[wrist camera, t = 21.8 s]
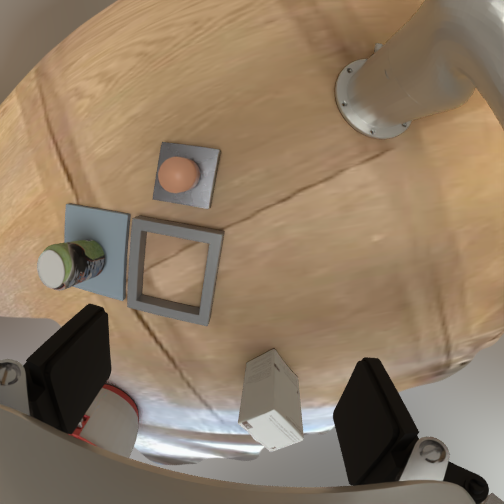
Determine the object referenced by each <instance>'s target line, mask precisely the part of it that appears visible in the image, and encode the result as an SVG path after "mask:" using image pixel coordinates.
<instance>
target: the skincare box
mask: <svg viewBox="0 0 504 504" xmlns="http://www.w3.org/2000/svg"><path fill="white" fill-rule="evenodd" d="M238 424H239V425H240V426H242V427H243V428H244V429H245V430H246V431H247V432H248V433H250V434H251V436H252V438H253V439H254V440H256V441H257V442H259V443H261V444H262V445H263V446H265V447H266V448H267V449H268V450H269V451H270V452H272V451H275V450H277V449H281V448H283V447H286V446H288V445H291V444H294V443H297V442H299V441H302V440H304V437H303V426H302V414H301V403H300V393H299V383H298V377H297V376H296V375H295V374H294V373H293V372H292V371H291V370H290V368H289V367H288V366H287V365H286V364H285V362H284V361H283V360H282V358H281V357H280V356H279V354H278V353H277V351H276V350H275V349H272V350H270V351H268V352H266V353H265V354H263V355H261V356H259V357H257V358H255V359H253V360H251V361H249V362H247V363H246V370H245V377H244V384H243V391H242V398H241V406H240V412H239V419H238Z"/></svg>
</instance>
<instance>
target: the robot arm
mask: <svg viewBox="0 0 504 504" xmlns="http://www.w3.org/2000/svg"><path fill="white" fill-rule="evenodd" d="M374 52H375V53H374V54H373V55H371V56H370V57H369V58H368V59H360V60H357V61H354V62H352V63H350V64H349V65H347V66H346V67H345V68H344V69H343V70H342V71H341V73H340V74H339V76H338V78H337V81H336V86H335V98H336V102H337V105H338V108H339V110H340V112H341V114H342V115H343V117H344V118H345V120H346V121H347V122H348V123H349V124H350V125H351V126H352V127H353V128H354V129H355V130H357V131H358V132H360V133H362V134H363V135H365V136H368V137H371V138H375V139H389V138H393V137H396V136H399V135H400V134H402V133H403V132H404V131H405V130H406V129H407V128H408V127H409V125H410V124H411V122H412V120H416V119H419V118H423V117H426V116H430V115H433V114H437V113H441V112H444V111H448V110H452V109H455V108H458V107H460V106H462V105H463V104H464V103H466V102H467V101H468V100H469V98H470V97H471V96H472V94H473V92H474V90H475V88H477V89H478V91H479V92H480V94H481V95H482V97H483V98H484V99H485V100H486V101H487V103H488V105H489V106H490V108H491V109H492V111H493V113H494V114H495V116H496V118H497V119H498V121H499V123H500V124H501V126H502V128H503V130H504V0H424V2H423V3H422V5H421V6H420V8H419V9H418V10H417V12H416V13H415V14H414V15H413V16H412V18H411V19H410V20H409V21H408V22H407V23H406V24H405V25H404V26H403V27H402V28H401V29H400V30H399V31H398V32H396V33H395V34H394V35H393V36H392V37H391V38H390V39H389V40H388V41H387V42H386V43H385V44H384V45H382V44H379V43H376V44H375V48H374ZM347 71H349V73H348V72H347ZM342 104H344V106H342ZM402 125H403V126H402ZM370 131H372V134H371V133H370ZM26 361H27V362H26V363H25V364H24V365H23V366H22V364H20V363H19V362H18V361H15V360H10V359H5V360H0V504H504V502H503V501H502V500H501V499H499V498H498V497H497V496H496V495H494V494H493V493H491V494H490V495H488V492H489V488H488V484H487V482H486V481H485V480H484V479H483V478H482V477H481V476H479V475H477V474H475V473H473V472H470V471H468V470H466V469H464V468H462V467H459V466H457V465H455V464H453V463H451V462H449V455H450V454H449V450H448V448H447V447H446V445H445V444H444V443H443V442H442V441H440V440H438V439H437V438H434V437H423V438H421V439H419V438H418V436H417V434H418V433H419V431H418V429H417V427H416V425H415V423H414V421H413V419H412V418H411V416H410V414H409V412H408V410H407V408H406V406H405V404H404V403H403V401H402V399H401V397H400V395H399V393H398V391H397V390H396V388H395V386H394V384H393V382H392V381H391V379H390V377H389V375H388V374H387V372H386V370H385V368H384V366H383V365H382V363H381V361H380V360H379V359H378V358H367V357H365V358H363V359H362V361H358V362H357V364H356V366H355V369H354V371H353V373H352V375H351V377H350V379H349V381H348V384H347V386H346V388H345V390H344V392H343V394H342V396H341V398H340V400H339V402H338V404H337V406H336V408H335V410H334V412H333V420H334V424H335V428H336V432H337V436H338V440H339V443H340V448H341V452H342V456H343V460H344V464H345V468H346V472H347V477H348V481H349V484H350V485H353V486H340V487H278V486H263V485H252V484H243V483H235V482H228V481H221V480H214V479H209V478H203V477H198V476H193V475H188V474H184V473H179V472H175V471H171V470H167V469H163V468H160V467H156V466H152V465H149V464H145V463H142V462H139V461H136V460H133V459H130V458H127V457H124V456H121V455H118V454H115V453H112V452H110V451H107V450H104V449H102V448H99V447H97V446H94V445H92V444H90V443H87V442H85V441H82V440H80V439H78V438H75V437H73V436H71V435H69V434H72V433H73V432H74V431H75V429H76V428H77V426H78V424H79V423H80V421H81V420H82V418H83V416H84V415H85V413H86V412H87V410H88V409H89V407H90V406H91V404H92V402H93V401H94V399H95V398H96V396H97V395H98V393H99V392H100V390H101V389H102V387H103V386H104V384H105V383H106V381H107V380H108V378H109V376H110V374H111V358H110V345H109V326H108V314H107V313H106V312H105V310H104V308H103V307H100V306H97V305H93V304H88V305H87V306H85V307H84V308H83V309H82V310H81V311H80V312H78V313H77V314H76V315H75V316H74V317H73V318H72V319H70V320H69V321H68V322H67V323H66V324H65V325H64V326H62V327H61V328H60V329H59V330H58V331H57V332H56V333H55V334H54V335H53V336H51V337H50V338H49V339H48V340H47V341H46V342H45V343H44V344H43V345H42V346H40V348H38V349H37V350H36V351H35V352H34V353H33V354H32V355H31V356H30V357H29V358H28V359H27V360H26Z"/></svg>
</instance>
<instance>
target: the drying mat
mask: <svg viewBox="0 0 504 504" xmlns="http://www.w3.org/2000/svg"><path fill="white" fill-rule="evenodd" d="M130 215H131V214H128V213H122V212H116V211H110V210H105V209H99V208H93V207H87V206H81V205H76V204H70V203H69V204H66V213H65V243H66V242H73V241H79V240H86V239H91V240H94V241H96V242H97V243H98V244H99V245H100V246H101V247H102V249H103V251H104V255H105V265H104V268H103V270H102V272H101V273H100V274H99V275H98V276H96V277H94V278H91V279H89V280H86V281H84V282H81V283H79V284H76V285H74V286H73V287H76V288H80V289H83V290H86V291H90V292H93V293H96V294H100V295H103V296H107V297H110V298H114V299H118V300H121V301H123V300H124V299H125V289H126V265H127V249H128V236H129V225H130Z"/></svg>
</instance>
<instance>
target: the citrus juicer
mask: <svg viewBox="0 0 504 504" xmlns="http://www.w3.org/2000/svg"><path fill="white" fill-rule="evenodd" d="M138 423H139V416H138V409H137V406H136V405H135V403H134V402H133V400H132V399H131V398H130V397H129V396H128V395H127V394H125V393H124V392H123V391H121V390H119V389H118V388H116V387H113V386H111V385H107V384H104V386H103V387H102V389H101V390H100V392H99V393H98V395H97V396H96V398H95V399H94V401H93V402H92V404H91V406H90V407H89V409H88V410H87V412H86V413H85V415H84V416H83V418H82V420H81V421H80V423H79V424H78V426H77V428H76V429H75V431H74V432H73V433H72V434H69V435H71V436H73V437H75V438H78V439H80V440H82V441H85V442H87V443H90V444H92V445H94V446H97V447H99V448H102V449H104V450H107V451H110V452H112V453H115V454H118V455H121V456H124V457H127V458H129V457H130V454H131V452H132V449H133V447H134V444H135V441H136V437H137V432H138Z"/></svg>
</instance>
